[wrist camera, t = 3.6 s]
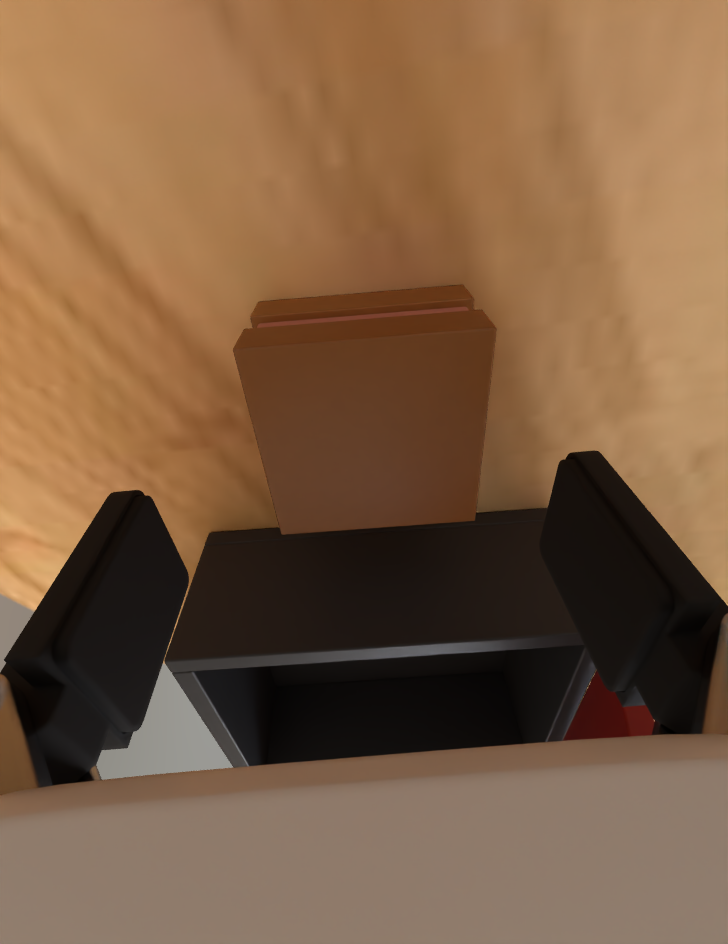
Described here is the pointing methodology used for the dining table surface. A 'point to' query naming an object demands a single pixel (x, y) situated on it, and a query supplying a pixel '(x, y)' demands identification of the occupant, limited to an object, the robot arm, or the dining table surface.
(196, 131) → the dining table surface
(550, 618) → the dark grey open box
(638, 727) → the lid
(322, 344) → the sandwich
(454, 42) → the dining table surface
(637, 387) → the dining table surface
